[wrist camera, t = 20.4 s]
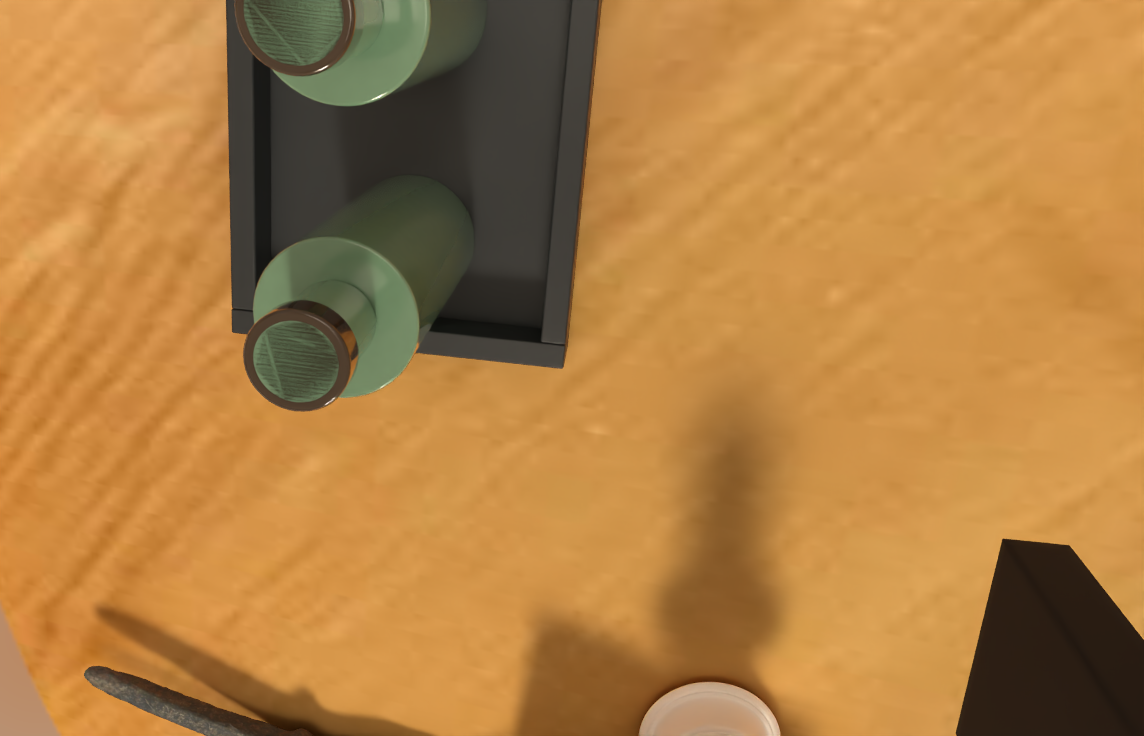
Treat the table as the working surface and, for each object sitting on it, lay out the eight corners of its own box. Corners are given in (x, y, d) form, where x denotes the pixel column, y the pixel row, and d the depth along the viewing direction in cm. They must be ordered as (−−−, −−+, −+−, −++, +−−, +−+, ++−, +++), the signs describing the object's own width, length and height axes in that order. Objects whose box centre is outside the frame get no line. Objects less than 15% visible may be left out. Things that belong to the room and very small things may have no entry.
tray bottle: (483, 83, 31) (396, 132, 20) (352, 70, 31) (191, 111, 20) (492, -59, 30) (404, -94, 18) (355, -73, 30) (184, -116, 19)
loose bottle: (479, 181, 32) (394, 280, 21) (471, 303, 34) (387, 459, 22) (352, 167, 32) (199, 258, 21) (349, 290, 34) (204, 438, 22)
